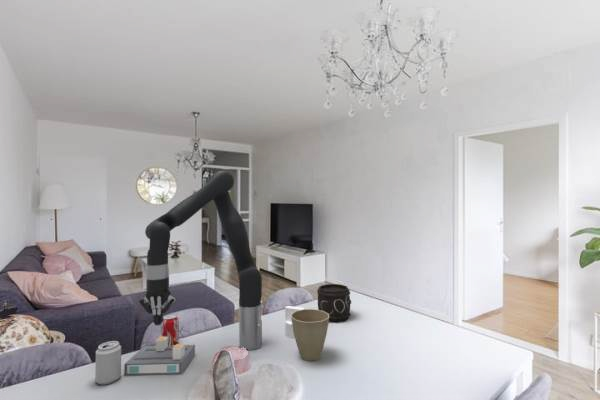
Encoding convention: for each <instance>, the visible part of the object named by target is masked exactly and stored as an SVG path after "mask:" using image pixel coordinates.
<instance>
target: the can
mask: <svg viewBox="0 0 600 400" xmlns="http://www.w3.org/2000/svg"><path fill="white" fill-rule="evenodd" d="M121 376H122V345H120V342H119V341H117V340H112V341H110V340H109V341H106V342H103V343H100V344H99V345H98V346H97V349H96V350H95V383H97V384H99V385H100V386H101V385H103V386H104V385H109V384H112V383H114V382H116V381H118V379H120V378H121Z"/></svg>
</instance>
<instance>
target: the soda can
mask: <svg viewBox="0 0 600 400" xmlns="http://www.w3.org/2000/svg"><path fill="white" fill-rule="evenodd" d="M179 323H180V321H179V318H178V315H177V314H175V313H171V314H170V313H169V314H166V315H163V322H162V323H161V324H160V337H168V346H173V345H175V344H179V342H180V341H179V338H180V324H179Z"/></svg>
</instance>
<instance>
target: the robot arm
mask: <svg viewBox="0 0 600 400" xmlns="http://www.w3.org/2000/svg"><path fill="white" fill-rule="evenodd" d="M234 183H235V178H234V176H233V174H232V173H230V172H229V171H228V170H219V171H216V172H214V173H213V174H211V175H209V177H208V179H207V183H206V184H205V185H203V187H201V188H200V189H198V190H197V191H196V192H194V193H192V194H191V195H188V196H187V197H186V198H184V199H183V200H182V201H180V202H179V203H177V204H176V205H174V206H173V207H172V208H171V209H169V210H168V211H167V212H166V213H164V214H162V215H161V216H160V217H158V218H156V219H154V220H152V222H150V223H149V224H148V225H147V226H146V228H145V231H144V233H145V236H146V238H147V239H148V240H149V249H148V250H147V253H146V262H147V263H146V264H147V265H146V272H145V273H146V274H145V277H146V282H145V283H146V286H145V287H146V293H145V296H144V297H143V298H142V299H140V300H139V304H140V305H141V306H142V308H143V309H144V310H145V311H146V312H147V313H148V314H151V315H152V316H153V324H154V325H155V326H161V323H162V322H163V317H164V314H166V312H168V311H169V310H170V308H172V306H173V305H174V303H175V302H176V300H177V297H176V296H175V297H174V296H172V295H171V292H170V267H169V247H170V242H171V231H172V230H173V229H174V228H177V227H180V226H182V225H183V224H184V223H187V221H189V220H190V219H191V218H192V217H193V216H194V215H195V214H197V213H198V212H199V211H200V210H201V209H203V208H204V207H205V206H206V205H207V204H209V203H211V202H212V201H213V202H214V205H215V207H216V210H217V214H218V219H219V221H220V224H221V227H222V230H223V231H222V232H223V235H224V237H225V240H226V242H227V245H228V248H229V250H230V251H231V254H232V256H233V259H234V261H235V264H236V265H235V266H236V271H237V276H238V281H239V285H238V286H239V288H238V289H239V291H238V293H239V296H238V297H239V298H238V308H239V309H238V327H239V329H238V330H239V331H238V333H239V335H238V336H239V337H238V339H239V340H238V342H239V344H238V345H239V348H240V347H244V348H246V349H248V350H247V351H253V350H257V349H261V347H262V345H263V344H262V343H263V321H262V296H263V295H262V294H263V293H262V292H263V291H262V290H263V284H262V274H261V272H260V270H259V269H258V268H257V265H256V263H255V261H254V258H253V256H252V253H251V249H250V241H249V236H248V231H247V228H246V225H245V222H244V220H243V218H242V216H241V215H240V213H239V211H238V210H237V208H236V207H235V206H234V204H233V201H232V199H231V195H230V191H231V190H232V188H233V187H234V185H235V184H234ZM166 302H167V304H166ZM165 304H166V305H165Z"/></svg>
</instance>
